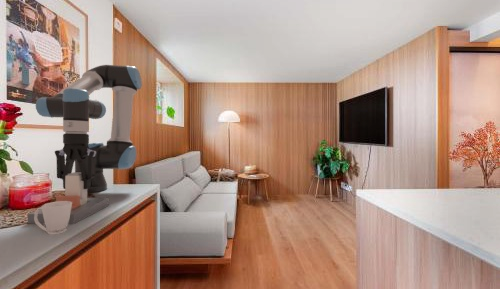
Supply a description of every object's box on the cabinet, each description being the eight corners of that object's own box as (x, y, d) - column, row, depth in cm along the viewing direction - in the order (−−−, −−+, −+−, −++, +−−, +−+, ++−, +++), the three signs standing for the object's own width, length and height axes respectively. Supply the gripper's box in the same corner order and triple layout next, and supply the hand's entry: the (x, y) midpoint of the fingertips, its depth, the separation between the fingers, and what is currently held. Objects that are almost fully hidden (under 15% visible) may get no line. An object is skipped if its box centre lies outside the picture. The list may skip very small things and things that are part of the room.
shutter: (59, 205, 85) (59, 195, 85) (80, 205, 85) (80, 195, 85) (42, 212, 78) (42, 200, 78) (65, 212, 78) (65, 201, 78)
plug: (65, 207, 86) (65, 174, 85) (74, 203, 90) (74, 172, 90) (78, 207, 86) (78, 174, 86) (86, 203, 91) (86, 172, 90)
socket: (71, 205, 96) (71, 197, 96) (108, 205, 97) (108, 197, 97) (27, 223, 76) (27, 213, 76) (73, 223, 77) (73, 214, 77)
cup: (59, 237, 67) (59, 207, 67) (23, 235, 67) (23, 206, 67) (78, 227, 74) (78, 200, 74) (45, 226, 74) (45, 200, 74)
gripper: (42, 132, 83) (42, 200, 84) (95, 133, 84) (95, 201, 85) (58, 132, 91) (59, 195, 92) (107, 133, 91) (107, 195, 92)
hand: (76, 197), depth 88 cm, fingers closed on plug, 4 cm apart
